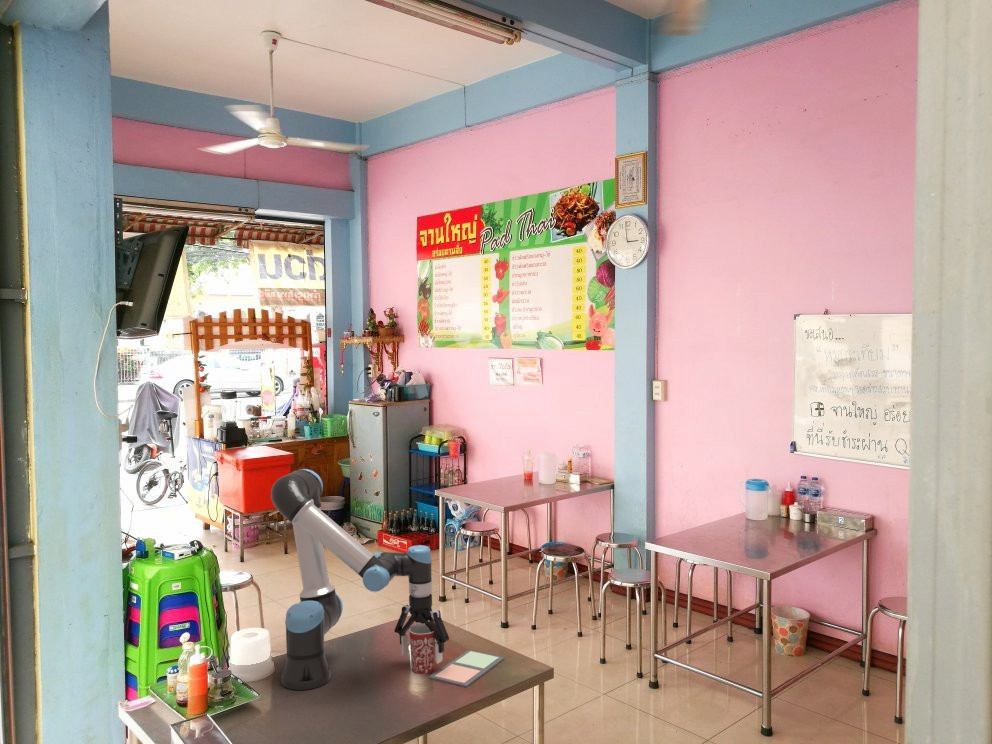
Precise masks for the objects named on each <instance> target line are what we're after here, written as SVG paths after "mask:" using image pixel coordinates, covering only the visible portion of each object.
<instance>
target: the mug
mask: <svg viewBox="0 0 992 744" xmlns="http://www.w3.org/2000/svg"><path fill="white" fill-rule="evenodd" d="M408 632H409V633H408V635H409V646H410V659H411V660H410V661H411V670H412V672H413V673H415V674H419V675H422V674H424V675H425V674H428V673H429V674H430V673H432V672H433V671H434V669H435V659H436V644H435V643H436V639H435V637H434V636H433V634H434V631H433V632H431V631H430V630H429V628H428V627H427V626H426V625H425V624H422V623H418V624H417V623H416V624H414V625H413V624H412V625H411V627H410V628H409V629H408Z"/></svg>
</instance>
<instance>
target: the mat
mask: <svg viewBox="0 0 992 744" xmlns="http://www.w3.org/2000/svg"><path fill="white" fill-rule="evenodd" d="M504 660H505V657H503V656H499V655H495V654H489V653H485V652H481V651H475V650H471V649H468V650H466V651H465V652H463V653H462V654H460V655H459V656H457V657H456V658H454V659H453V660H451V661H450V662H448V663H447V664H446V665H444V666H442V667H441V668H440V669H438V670H437V671H435V672H434V673H432V674H431V675H430V676H428V679H430V680H434V681H437V682H441V683H446V684H450V685H454V686H459V687H461V688H462V687H463V688H466V689H467V688H468V687H470V686H471V685H472V684H474V683H475V682H476V681H478V680H479V679H480V678H482V677H483V676H484V675H486V674H487V673H488V672H490V671H491V670H493V669H494V668H495V667H496V666H497V665H499V664H500V663H501V662H503V661H504Z"/></svg>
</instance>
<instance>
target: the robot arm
mask: <svg viewBox="0 0 992 744" xmlns="http://www.w3.org/2000/svg"><path fill="white" fill-rule="evenodd" d="M323 485H324V484H323V480H322V479H321V477H320V475H319V474H318V473H316V472H315V471H313V470H312V469H307V468H301V469H297V470H294V471H292V472H290V473H288V474H286V475H283V476H281V477H279V478H278V479H277V480H276V481H275V482H274V483H273V485H272V487H271V491H270V499H271V502H272V504H273V506H274V507H275V509H276V510H277V511H278V512H279V514H280V515H282V516H283V517H284V519H286V520H287V521H289V522H290V523H291V524H292V529H293V535H294V536H293V537H294V540H295V541H294V542H295V546H296V553H297V559H298V565H299V570H300V576H301V577H300V578H301V582H302V591H300V593H299V603H297V602H296V603H294V604H292V605H291V606H290V607H289V608H288V609H287V611H286V613H285V620H284V621H285V622H284V623H285V643H286V645H285V646H286V647H285V648H286V649H285V650H286V658H285V662H284V666H283V670H282V672H281V676H280V677H281V678H280V679H281V685H282V686H283V687H284V688H285V689H289V690H295V691H305V690H311V689H315V688H319V687H321V686H324V685H325V684H327V683H328V682H329V681H330V680H331V678H332V677H331V668H330V666H329V663H328V660H327V657H326V654H325V635H326V634H327V633H328V632H329V631H330V630H331V629H332V628H334V626H335V625H336V624H337V623H338V622H339V620H340V619H341V616H342V614H343V609H344V608H343V607H344V606H343V600H342V599H341V597H340V595H338V594H337V593H336V592H337V591H336V587H335V586H334V585H333V584H331V583H330V578H329V574H328V567H327V562H326V561H327V559H326V557H325V549H324V547H325V548H326V549H327V550H328V551H330V552H331V553H332V554H333V555H334V556H336V557H337V558H338V559H339V560H340V561H342V562H343V563H344V564H345V565H347V566H348V567H349V568H350V569H351V570H352V571H353V572H355V573H356V574H357V575H359V576H360V578H362V583H363V585H364V587H365V589H367V590H368V591H370V592H373V593H375V592H380V591H381V590H383V589H384V588H386V587H387V586H388V585H389V583H390V582H391V581H392V580H393V579H394V577H408V594H409V596H408V604H409V605H408V604H405V605H404V606H402V607H401V614H399V618H398V620H397V623H396V625H395V627H394V633H395V634H396V633H397V634H398V635H399V644H400V646H401V656H402V657H405V656H406V655H408V654H409V633H407V632H408V631H409V628H410V627H411V626H413V624H414V623H416V624H417V623H418V624H425V625H426V626H427V627H428V628H429V630H430V631H431V632H433V631H434V634H433V636H434V637H435V664H440V663H441V662H443V653H444V652H445V643H446V642H448V641H450V637H449V633H448V632H447V629H446V626H445V624H444V621H443V618H442V615H441V611H440V609H437V611H435V610H433V609H432V607H433V594H432V593H433V582H432V561H433V560H432V553H431V552H432V551H431V549H430V547H429V546H427V545H422V544H419V545H412V546H410V547H408V549H407V552H395V551H394V552H392V551H391V552H387V551H381V552H380V551H379V552H374V553H373V552H371V551H370V550H368V549H367V548H366V547H365V546H364V545H363V544H361V543H360V542H359V541H358V540H357V539H355V538H354V537H353V536H352V535H351V534H349V533H348V532H347V531H346V530H344V528H343V527H341V526H340V525H339V524H338V523H336V521H334V520H333V519H332V518H331V517H329V516H328V515H327V514H326V513H324V511H322V510H321V509H322V501H321V495H322V493H323V488H324V486H323ZM409 614H410V615H411V616H409V619H408V620H407V621H406V619H407V618H408V615H409ZM405 622H406V623H405Z"/></svg>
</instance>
